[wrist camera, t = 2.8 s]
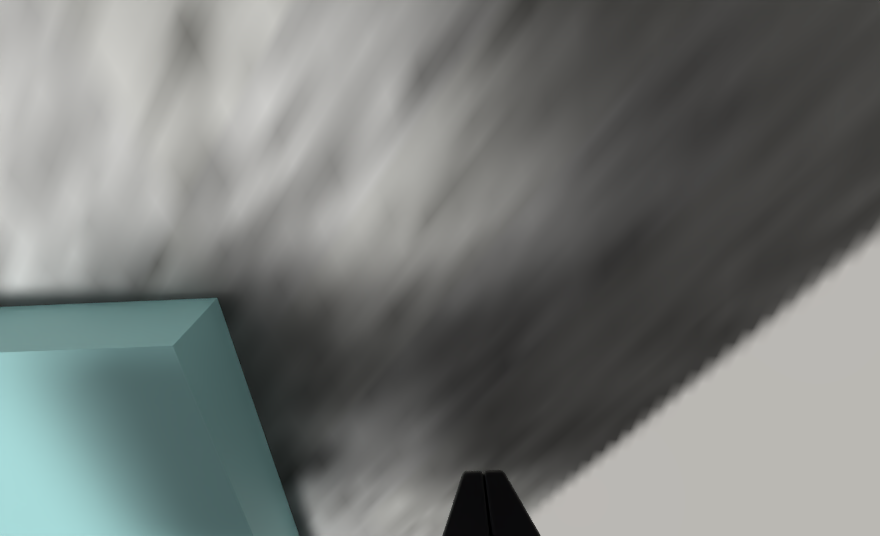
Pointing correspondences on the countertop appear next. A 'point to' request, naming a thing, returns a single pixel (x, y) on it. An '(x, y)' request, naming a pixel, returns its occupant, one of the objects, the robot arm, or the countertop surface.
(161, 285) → the countertop surface
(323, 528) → the countertop surface
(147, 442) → the panel
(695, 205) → the countertop surface
